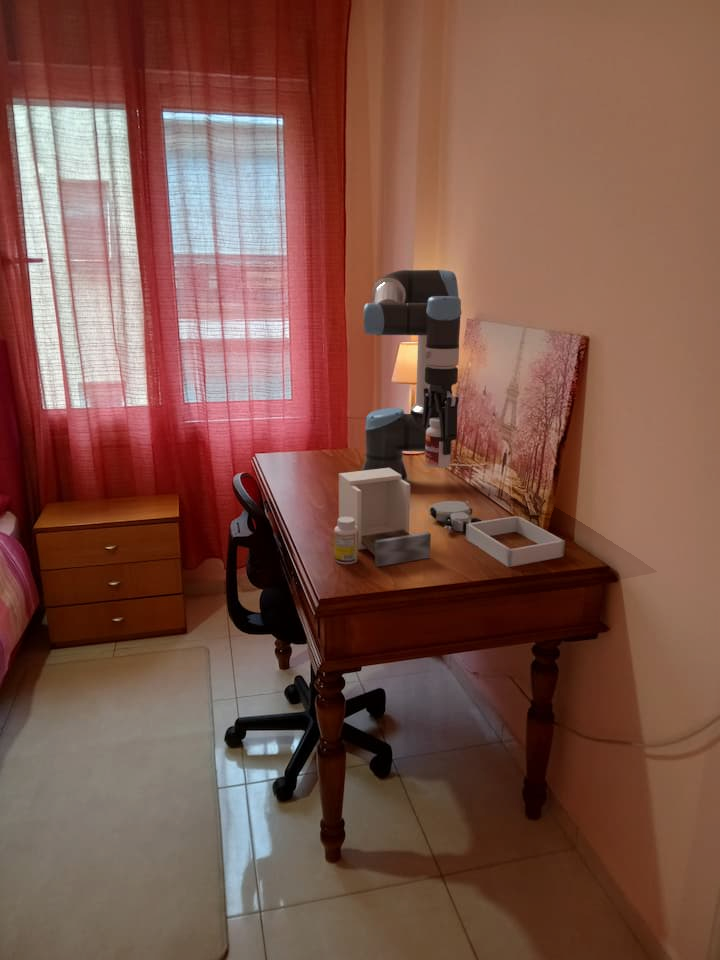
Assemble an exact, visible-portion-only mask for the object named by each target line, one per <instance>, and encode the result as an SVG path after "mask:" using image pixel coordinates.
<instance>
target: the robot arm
mask: <svg viewBox="0 0 720 960" xmlns="http://www.w3.org/2000/svg"><path fill="white" fill-rule="evenodd" d="M371 300H372V302H367V303H364V306H363V331H364V333H365V334H366V335H370V336H371V335H373V336H417V357H416V358H417V361H416V363H417V364H416V366H417V367H416V387H415V388H416V391H415V393H416V394H415V395H416V396H415V404H413V405H412V406H411V408H410V413H405V411H404V409H403V408H399V407H398V408H397V407H389V408H387V407H386V408H382V409H381V408H380V409H376V410H373V411H371V412H369V414H367V415H366V420H365V428H364V430H365V459H364V463H363V465H362V469H361V471H365V470H373V469H382V468H391V469H392V470H394V471H396V472H397V473H399V474H401V475H402V480H404V481H406V482H407V483H408V473H407V470H406V469H407V468H406V467H405V464H404V461H403V459H404V458H403V454H404V453H403V452H424V453H425V446H426V430H427V429H428V428H429V427H430V424H429V422H430V419H431V418H437V417H439V420H440V430H441V439H438V440H439V460H438V467H437V468H438V469H446V468H451V464H450V457H451V458H452V449H451V441H452V442H453V441H454V440H456V441H457V439H458V406H459V396H454V395H453V390H452V389H453V388H452V386H453V385H456V384H457V383H458V380H459V379H458V378H459V368H458V367H457V366H459V364H460V363H459V361H460V360H459V359H460V334H461V333H460V332H461V331H460V330H461V316H462V300H461V298H460V297H459V286H458V280H457V276H456V274H455V272H454V271H451V270H443V269H427V270H426V269H425V270H424V269H423V270H422V269H420V270H417V269H416V270H415V269H414V270H413V269H410V270H408V269H401V270H397V271H393V272H390V273H388V274H386V275H384V276H381V278H379V279H378V280H377V281H376V282H375V284H374V285H373V287H372V290H371Z"/></svg>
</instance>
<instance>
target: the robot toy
mask: <svg viewBox="0 0 720 960" xmlns="http://www.w3.org/2000/svg"><path fill="white" fill-rule="evenodd" d="M425 507H426V509H427V510H428V514H429V515H431V517H432V518H433V519H435V520H436V521H437V522H441V523H442V522H443V523H444V530H445V531H451V530H454V531H455V532H466V524H468V523H475V522H481V521H483V520H481V519H480V518H477V517H473V518H472V517H471V515H472V514H473V513H472V512H473V508H472V507H471V505H470V504H469V501H468V500H466V501H465V502H464V501H458V500H447V501H439V502H436V503H433V505H431V507H430V509H429V507H428V505H427V504H426V503H425Z"/></svg>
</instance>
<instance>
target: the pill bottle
mask: <svg viewBox="0 0 720 960" xmlns="http://www.w3.org/2000/svg"><path fill="white" fill-rule="evenodd" d="M429 424H430V427H429V428H428V429H427V430H426V446H425V452H424V453H425V454H424V464H425V465H426V466H427V467H428V466H429V467H432V468H438V460H439V440H438V439H441V430H440V420H439V417H437V418H431V419H430V422H429ZM452 446H453V440H452V441H451V450H452V449H453V447H452ZM451 463H452V456H451V457H450V465H451Z"/></svg>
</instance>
